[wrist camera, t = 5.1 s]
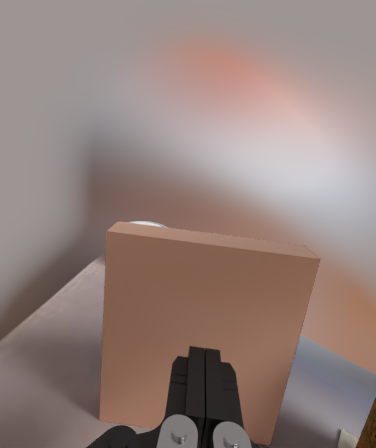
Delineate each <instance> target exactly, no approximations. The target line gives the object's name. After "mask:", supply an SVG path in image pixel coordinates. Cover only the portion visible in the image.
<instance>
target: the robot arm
mask: <svg viewBox="0 0 376 448" xmlns="http://www.w3.org/2000/svg"><path fill="white" fill-rule="evenodd" d="M87 448H260V447H258V446H257V445H256V444H255V443H254V442H252V440H251V439H250V438H249V436H248V434H247V433H246V431H245V429H244V425H243V419H242V412H241V405H240V399H239V393H238V385H237V379H236V372H235V371H234V369H233V367H232V366H231V364H230V363H227V362H221V355H220V350H217V349H210V348H205V350H204V348H202V347H195V346H189V352H188V357H183V356H177V358H176V359H175V360H174V362H173V363H172V369H171V376H170V383H169V390H168V397H167V404H166V411H165V416H164V419H163V421H162V422H161V424H160V425H159V426H158V427H157V428H155V429H154V430H152V431H150V432H146V433H141V434H136V432H135V431H134V430H133V429H132V428H130V427H128V426H124V425H120V426H115V427H113V428H111V429H109V430H108V431H106V432H105V433H104V434H103V435H101V436H100V437H99V438H98V439H96V440H95V441H94V442H93V443H91V444H90V445H89V446H88V447H87Z"/></svg>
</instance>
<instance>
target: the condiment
mask: <svg viewBox="0 0 376 448" xmlns="http://www.w3.org/2000/svg"><path fill="white" fill-rule="evenodd" d="M337 448H376V398H375V400H374V403H373V405H372V408H371V410H370V413H369V415H368V418H367V420H366V423H365V425H364V427H363V429H362V433H361V436H360V438H359V439H358V438H357V437H355V436H354V435H352V434H350V433H349V432H347V431H346V430H344V429H342V431H341V434H340V438H339V442H338V445H337Z"/></svg>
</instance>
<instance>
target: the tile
mask: <svg viewBox="0 0 376 448" xmlns="http://www.w3.org/2000/svg"><path fill="white" fill-rule="evenodd" d="M319 263H320V258H319V257H318V256H317V255H316V254H314V253H313V252H312V251H311V250H310V249H309V248H308V247H307V246H305V245H297V244H289V243H282V242H273V241H266V240H259V239H251V238H243V237H236V236H228V235H220V234H213V233H205V232H197V231H189V230H182V229H174V228H166V227H159V226H151V225H143V224H136V223H128V222H120V221H119V222H117V223H116V224H115V225H114V226H112V227H111V228H110V229H109V230H108V231H107V235H106V261H105V287H104V313H103V339H102V364H101V390H100V416H99V420H100V421H107V422H113V423H120V424H127V425H134V426H140V427H147V428H154V429H155V428H157V427H158V426H159V425H160V424H161V422H162V421H163V419H164V416H165V411H166V404H167V397H168V390H169V383H170V376H171V369H172V363H173V362H174V360H175V359H176V358H177V356H183V357H188V352H189V346H195V347H202V348H204V350H205V348H210V349H217V350H220V355H221V362H227V363H230V364H231V366H232V367H233V369H234V371H235V372H236V379H237V385H238V393H239V399H240V405H241V412H242V419H243V425H244V429H245V431H246V433H247V434H248V436H249V438H250V439H251V440H252V442H254V443H256V444H263V445H269V446H270V444H271V440H272V436H273V433H274V429H275V425H276V422H277V418H278V414H279V411H280V407H281V403H282V399H283V396H284V392H285V388H286V385H287V381H288V377H289V374H290V370H291V366H292V363H293V359H294V355H295V352H296V348H297V344H298V341H299V337H300V333H301V329H302V326H303V322H304V318H305V315H306V311H307V307H308V304H309V300H310V296H311V293H312V289H313V285H314V281H315V278H316V274H317V270H318V267H319Z"/></svg>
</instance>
